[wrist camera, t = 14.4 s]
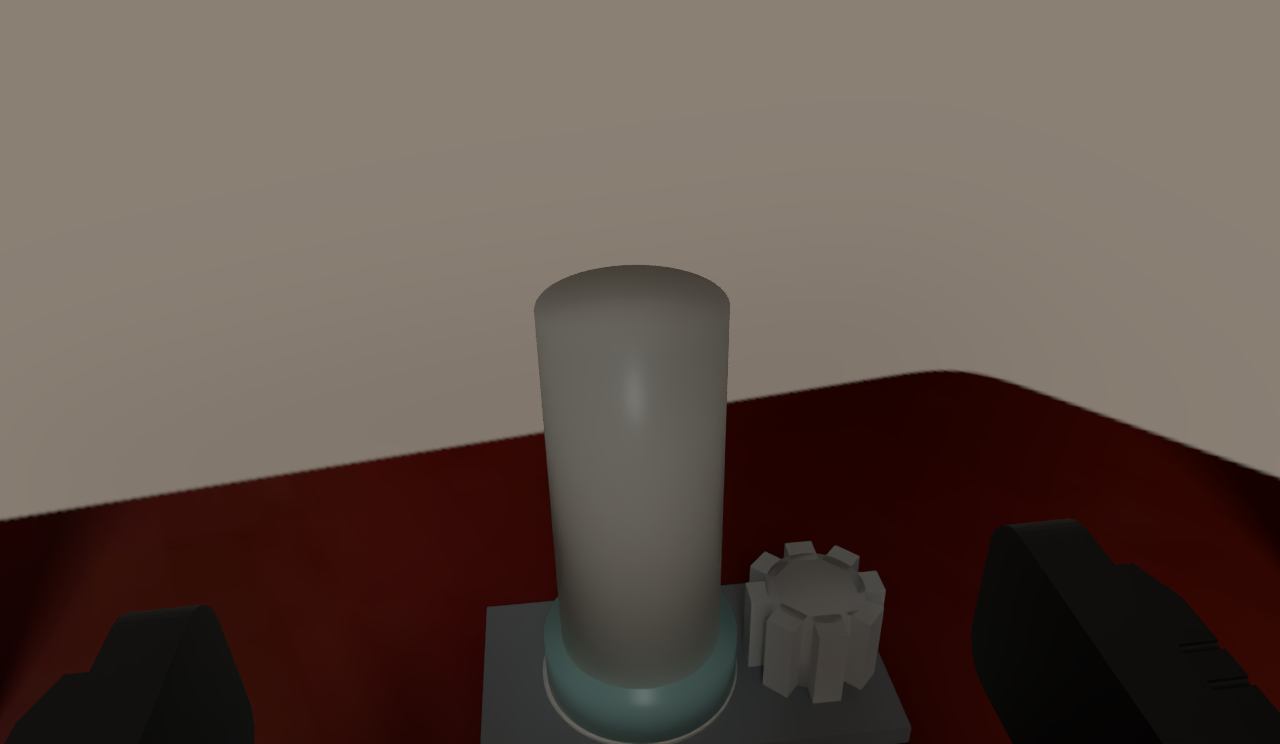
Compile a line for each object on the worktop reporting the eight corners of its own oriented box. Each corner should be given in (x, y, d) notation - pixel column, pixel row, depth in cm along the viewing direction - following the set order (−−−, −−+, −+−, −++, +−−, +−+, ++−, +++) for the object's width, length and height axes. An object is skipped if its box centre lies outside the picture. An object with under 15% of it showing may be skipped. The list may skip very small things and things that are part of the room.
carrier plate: (842, 587, 30) (851, 513, 29) (908, 742, 25) (923, 661, 24) (488, 621, 29) (478, 545, 28) (481, 788, 24) (468, 707, 23)
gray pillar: (717, 590, 29) (727, 251, 23) (753, 732, 25) (777, 353, 19) (545, 605, 29) (513, 264, 23) (549, 754, 24) (509, 372, 18)
